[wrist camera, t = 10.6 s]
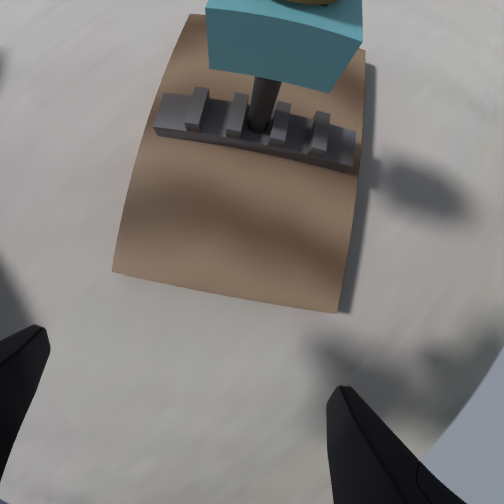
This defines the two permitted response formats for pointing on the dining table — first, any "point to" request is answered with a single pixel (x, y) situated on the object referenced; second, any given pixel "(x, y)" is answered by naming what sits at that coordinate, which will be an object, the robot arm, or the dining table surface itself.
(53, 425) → the dining table surface
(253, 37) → the sleeve
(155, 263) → the wooden base post stand
